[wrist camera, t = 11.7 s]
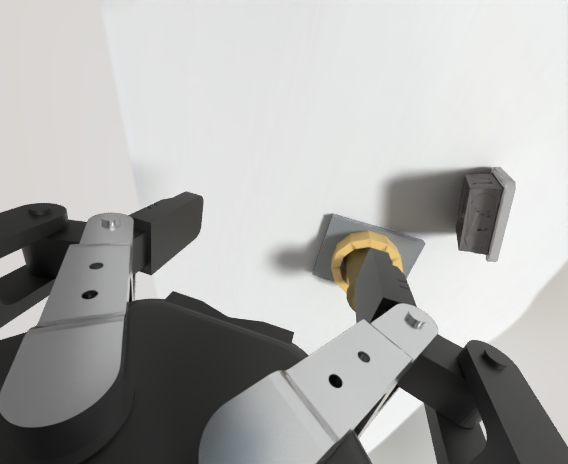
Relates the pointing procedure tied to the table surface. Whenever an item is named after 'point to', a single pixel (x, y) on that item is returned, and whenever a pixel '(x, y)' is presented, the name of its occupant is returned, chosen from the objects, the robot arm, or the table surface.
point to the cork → (354, 271)
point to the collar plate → (353, 226)
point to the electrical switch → (484, 212)
